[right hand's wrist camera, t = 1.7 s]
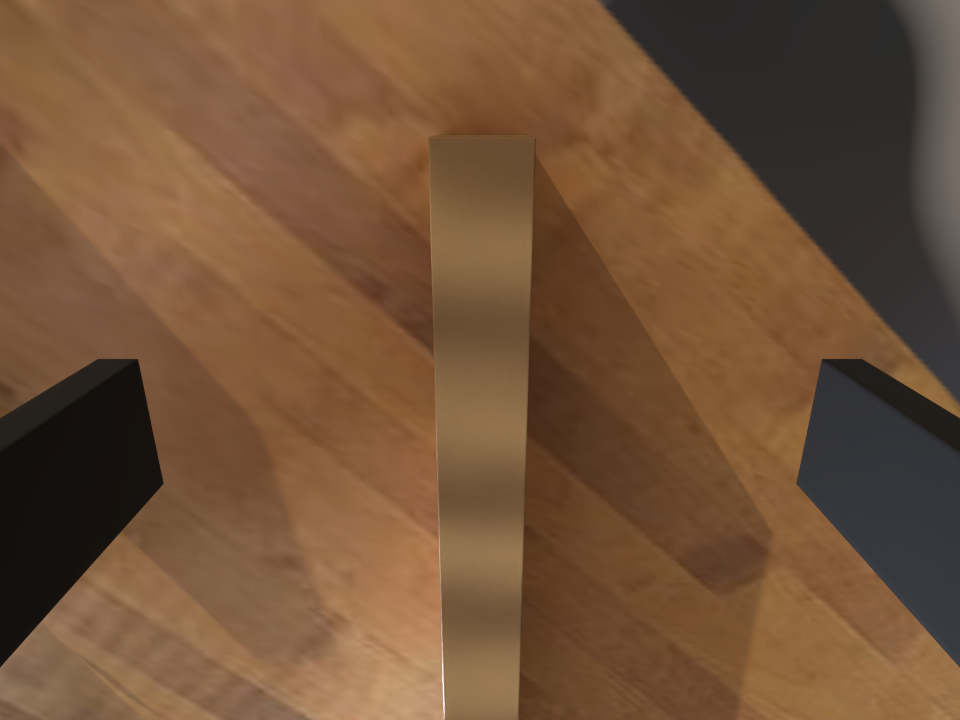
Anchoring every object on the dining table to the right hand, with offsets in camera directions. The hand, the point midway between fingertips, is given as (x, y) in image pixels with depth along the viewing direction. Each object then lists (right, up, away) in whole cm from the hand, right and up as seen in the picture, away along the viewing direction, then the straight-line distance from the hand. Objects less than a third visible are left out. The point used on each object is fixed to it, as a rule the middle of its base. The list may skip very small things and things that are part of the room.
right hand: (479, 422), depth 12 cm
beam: (0, -20, +35) cm, 40 cm away
